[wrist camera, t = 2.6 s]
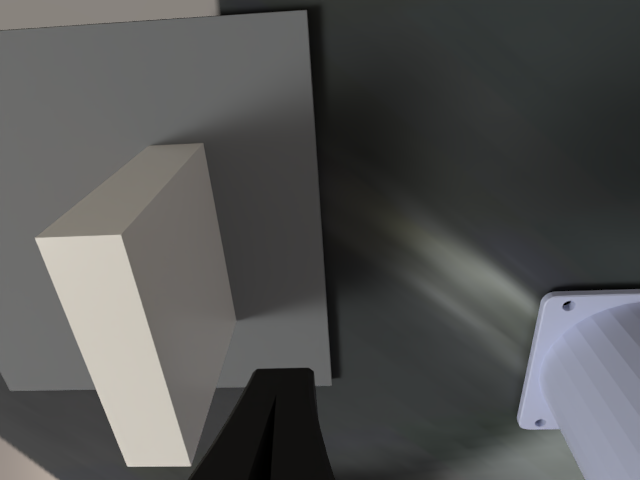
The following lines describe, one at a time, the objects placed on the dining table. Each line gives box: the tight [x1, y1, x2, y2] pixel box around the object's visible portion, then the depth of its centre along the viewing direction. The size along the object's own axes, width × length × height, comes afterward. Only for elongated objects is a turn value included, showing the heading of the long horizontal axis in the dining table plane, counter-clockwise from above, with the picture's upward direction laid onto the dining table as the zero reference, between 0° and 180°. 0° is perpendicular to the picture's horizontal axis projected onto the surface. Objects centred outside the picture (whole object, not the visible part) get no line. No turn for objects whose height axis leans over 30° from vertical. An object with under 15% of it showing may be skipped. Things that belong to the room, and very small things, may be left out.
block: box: [35, 143, 236, 467], centre depth 15 cm, size 2×8×7 cm, turn 4°
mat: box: [0, 10, 332, 391], centre depth 19 cm, size 16×16×1 cm
